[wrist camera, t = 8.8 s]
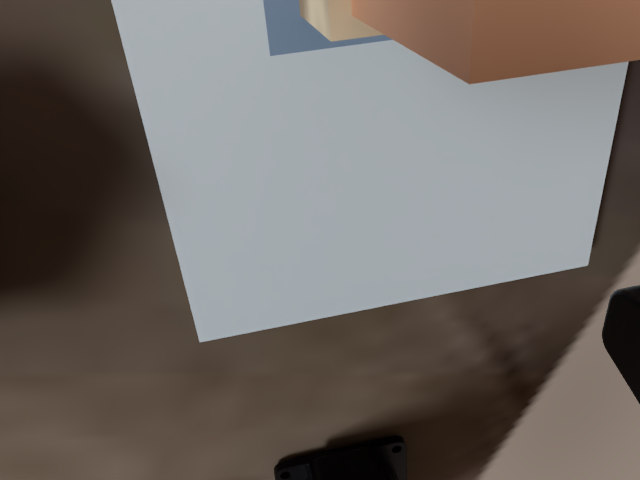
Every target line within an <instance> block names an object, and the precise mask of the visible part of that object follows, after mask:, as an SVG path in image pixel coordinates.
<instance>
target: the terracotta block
mask: <svg viewBox="0 0 640 480" xmlns="http://www.w3.org/2000/svg"><path fill="white" fill-rule="evenodd" d="M351 6H352V16H353V17H355V18H357V19H358V20H360V21H362V22H363V23H365V24H367V25H369V26H370V27H372V28H374V29H375V30H377V31H379V32H381V33H382V34H384V35H386V36H387V37H389V38H391V39H393V40H394V41H396V42H398V43H399V44H401V45H403V46H405V47H406V48H408V49H410V50H411V51H413V52H415V53H417V54H418V55H420V56H422V57H423V58H425V59H427V60H428V61H430V62H432V63H434V64H435V65H437V66H439V67H440V68H442V69H444V70H446V71H447V72H449V73H451V74H452V75H454V76H456V77H458V78H459V79H461V80H463V81H464V82H466V83H468V84H476V83H483V82H490V81H497V80H504V79H511V78H517V77H524V76H531V75H538V74H545V73H552V72H559V71H566V70H573V69H580V68H587V67H594V66H601V65H607V64H614V63H621V62H628V61H635V60H640V0H351Z"/></svg>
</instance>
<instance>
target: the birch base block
mask: <svg viewBox="0 0 640 480" xmlns="http://www.w3.org/2000/svg"><path fill="white" fill-rule="evenodd" d="M299 7H300V16H301V17H303V18H304V19H305V20H306V21H307V22H308V23H310V24H311V25H312V26H313V27H314V28H316V29H317V30H318V31H319V32H320V33H321V34H323V35H324V36H325V37H326V38H327V39H328V40H330V41H331V42H333V41H340V40H348V39H356V38H363V37H371V36H378V35H384V34H382V33H381V32H379V31H377V30H375V29H374V28H372V27H370V26H369V25H367V24H365V23H363V22H362V21H360V20H358V19H357V18H355V17H353V16H352V6H351V0H299Z"/></svg>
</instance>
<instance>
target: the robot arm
mask: <svg viewBox="0 0 640 480" xmlns="http://www.w3.org/2000/svg"><path fill="white" fill-rule="evenodd" d="M602 338H603V343H604V346H605V348H606V350H607V352H608V353H609V355H610V356H611V358H612V360H613V361H614V363H615V364H616V366H617V368H618V369H619V371H620V373H621V374H622V376H623V378H624V379H625V381H626V382H627V384H628V386H629V387H630V389H631V391H632V392H633V394H634V395H635V397H636V399H637V400H638V402H639V404H640V286H633V287H628V288H623V289H619V290H616V291H614V293H613V294H612V295H611V297H610V300H609V305H608V309H607V313H606V317H605V322H604V326H603V330H602ZM274 474H275V480H407V455H406V444H405V442H404V439H403V438H402V437H401V436H392V437H388V438H383V439H379V440H375V441H370V442H366V443H362V444H357V445H353V446H349V447H344V448H340V449H336V450H331V451H327V452H323V453H318V454H314V455H310V456H305V457H301V458H297V459H292V460H288V461H284V462H281V463H279V464H277V465H276V466H275V468H274Z"/></svg>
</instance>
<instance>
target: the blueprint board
mask: <svg viewBox="0 0 640 480" xmlns="http://www.w3.org/2000/svg"><path fill="white" fill-rule="evenodd" d="M111 1H112V5H113V9H114V13H115V17H116V20H117V24H118V28H119V32H120V36H121V40H122V44H123V48H124V51H125V55H126V59H127V63H128V67H129V71H130V75H131V78H132V82H133V86H134V90H135V94H136V98H137V102H138V106H139V109H140V113H141V117H142V121H143V125H144V129H145V133H146V137H147V140H148V144H149V148H150V152H151V156H152V160H153V164H154V168H155V171H156V175H157V179H158V183H159V187H160V191H161V195H162V198H163V202H164V206H165V210H166V214H167V218H168V222H169V226H170V229H171V233H172V237H173V241H174V245H175V249H176V253H177V257H178V260H179V264H180V268H181V272H182V276H183V280H184V284H185V287H186V291H187V295H188V299H189V303H190V307H191V311H192V315H193V318H194V322H195V326H196V330H197V334H198V338H199V342H204V341H210V340H215V339H220V338H225V337H230V336H235V335H240V334H245V333H250V332H255V331H260V330H265V329H270V328H275V327H280V326H285V325H290V324H295V323H300V322H305V321H310V320H315V319H321V318H326V317H331V316H336V315H341V314H346V313H351V312H356V311H361V310H366V309H371V308H376V307H381V306H386V305H391V304H396V303H401V302H406V301H411V300H416V299H421V298H426V297H432V296H437V295H442V294H447V293H452V292H457V291H462V290H467V289H472V288H477V287H482V286H487V285H492V284H497V283H502V282H507V281H512V280H517V279H522V278H527V277H532V276H537V275H543V274H548V273H553V272H558V271H563V270H568V269H573V268H578V267H583V266H588V262H589V257H590V252H591V247H592V242H593V237H594V232H595V227H596V222H597V217H598V212H599V207H600V202H601V197H602V192H603V187H604V182H605V177H606V172H607V167H608V162H609V157H610V152H611V147H612V142H613V137H614V132H615V127H616V122H617V117H618V112H619V107H620V102H621V97H622V92H623V87H624V82H625V77H626V72H627V67H628V62H629V61H628V62H621V63H614V64H607V65H601V66H594V67H587V68H580V69H573V70H566V71H559V72H552V73H545V74H538V75H531V76H524V77H517V78H511V79H504V80H497V81H490V82H483V83H476V84H468V83H466V82H464V81H463V80H461V79H459V78H458V77H456V76H454V75H452V74H451V73H449V72H447V71H446V70H444V69H442V68H440V67H439V66H437V65H435V64H434V63H432V62H430V61H428V60H427V59H425V58H423V57H422V56H420V55H418V54H417V53H415V52H413V51H411V50H410V49H408V48H406V47H405V46H403V45H401V44H399V43H398V42H396V41H394V40H393V39H391V38H389V37H387V36H386V35H378V36H371V37H363V38H356V39H348V40H340V41H333V42H331V41H330V40H328V39H327V38H326V37H325V36H324V35H323V34H321V33H320V32H319V31H318V30H317V29H316V28H314V27H313V26H312V25H311V24H310V23H308V22H307V21H306V20H305V19H304V18H303V17H301V16H300V7H299V0H111Z"/></svg>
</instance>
